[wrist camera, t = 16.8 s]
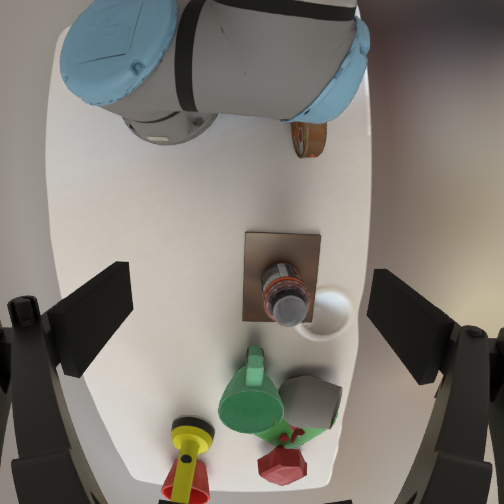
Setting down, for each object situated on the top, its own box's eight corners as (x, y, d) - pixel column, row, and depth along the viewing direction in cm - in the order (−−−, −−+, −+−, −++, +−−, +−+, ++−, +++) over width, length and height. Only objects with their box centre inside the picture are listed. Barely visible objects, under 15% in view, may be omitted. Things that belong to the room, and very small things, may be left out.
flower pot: (219, 475, 58) (216, 505, 48) (178, 476, 58) (172, 505, 49) (204, 452, 55) (199, 485, 46) (161, 454, 56) (152, 484, 46)
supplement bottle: (307, 285, 45) (324, 318, 34) (274, 305, 46) (280, 343, 35) (287, 253, 44) (300, 278, 33) (253, 274, 44) (254, 305, 33)
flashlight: (201, 541, 30) (204, 526, 28) (148, 530, 30) (143, 513, 28) (212, 444, 54) (217, 419, 52) (172, 437, 54) (172, 411, 52)
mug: (275, 396, 51) (280, 434, 41) (222, 394, 50) (218, 432, 41) (284, 328, 47) (292, 363, 38) (223, 325, 47) (217, 360, 37)
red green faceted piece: (230, 438, 54) (229, 471, 45) (304, 389, 50) (313, 423, 42) (278, 463, 56) (281, 493, 48) (349, 420, 53) (360, 451, 44)
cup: (271, 387, 43) (334, 401, 38) (292, 361, 51) (346, 372, 46) (268, 430, 44) (324, 445, 40) (288, 402, 52) (338, 413, 48)
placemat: (245, 231, 43) (245, 232, 43) (320, 234, 44) (321, 235, 43) (242, 319, 47) (242, 321, 46) (311, 320, 47) (311, 322, 46)
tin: (285, 63, 37) (293, 40, 29) (306, 64, 37) (318, 41, 29) (293, 160, 41) (303, 155, 33) (315, 159, 41) (330, 155, 33)
